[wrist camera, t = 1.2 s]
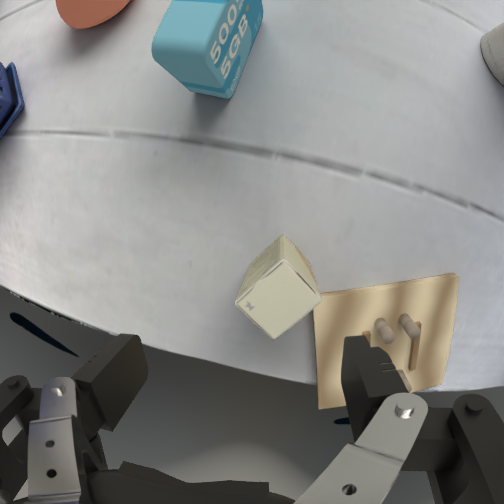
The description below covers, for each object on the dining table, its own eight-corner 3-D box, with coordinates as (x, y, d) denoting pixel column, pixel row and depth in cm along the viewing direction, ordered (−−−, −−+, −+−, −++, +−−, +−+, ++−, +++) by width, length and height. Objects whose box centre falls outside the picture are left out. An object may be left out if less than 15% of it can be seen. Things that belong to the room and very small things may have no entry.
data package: (231, 102, 28) (200, 60, 16) (192, 94, 28) (144, 54, 17) (264, 16, 25) (254, -49, 13) (227, 10, 25) (202, -51, 14)
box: (275, 292, 32) (270, 344, 21) (248, 264, 32) (229, 305, 21) (311, 261, 31) (325, 301, 20) (284, 231, 31) (284, 257, 20)
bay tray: (452, 272, 29) (474, 286, 24) (438, 378, 33) (451, 398, 28) (311, 294, 32) (315, 313, 27) (317, 402, 35) (320, 427, 30)
